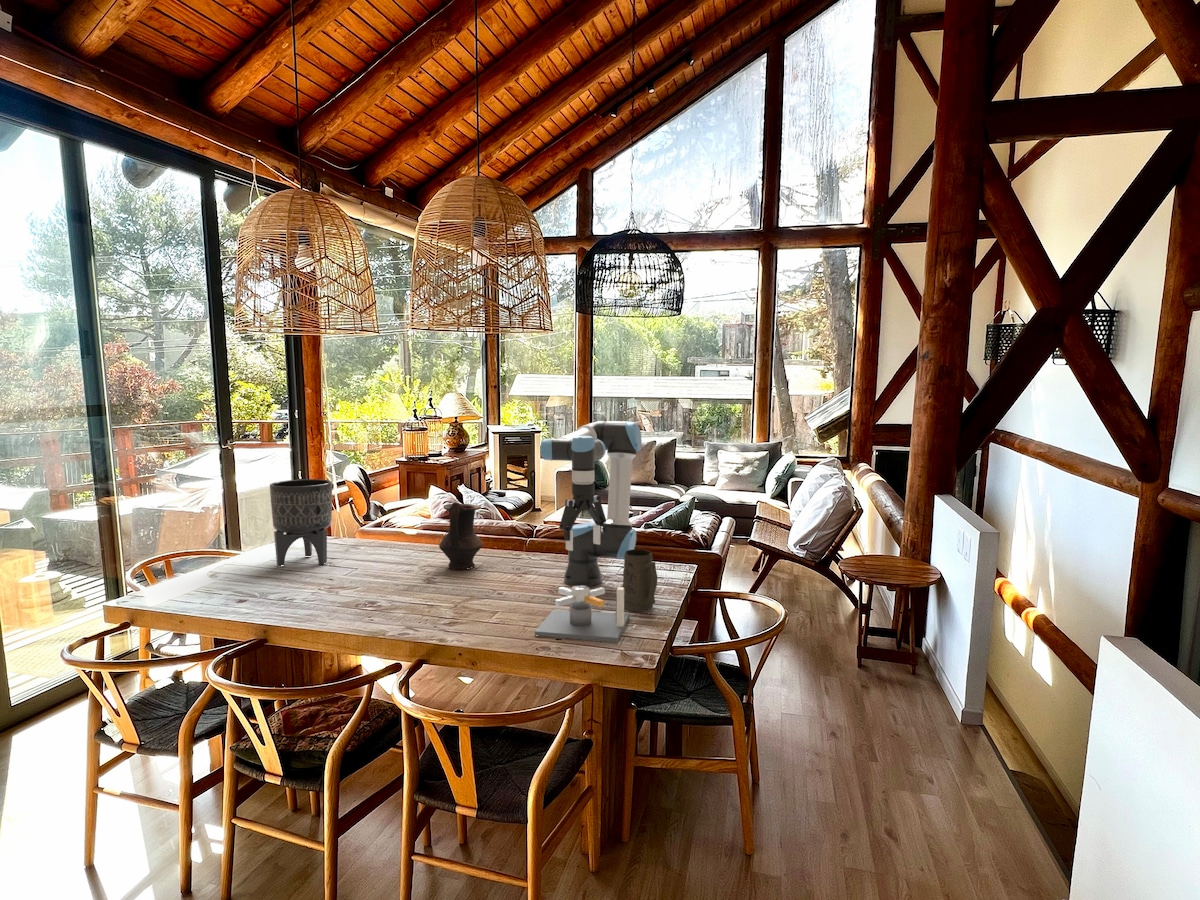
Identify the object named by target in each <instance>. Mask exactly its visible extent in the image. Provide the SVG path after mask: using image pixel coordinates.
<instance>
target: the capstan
mask: <svg viewBox="0 0 1200 900" xmlns="http://www.w3.org/2000/svg"><path fill="white" fill-rule="evenodd" d="M590 587H591V586H583V585H579V586H571V589H570V588H568V587H565V586H561V587H558V590H557V591H558V592H557V593H558V594H561V595H562V596H564V597H560V598H556V599H554V607H555V606H556V607H562V606H566V605H570V606H571V607H572V608H574V609H587V608H589V607H590V606H591V605H592V606H595V607H598V608H601V607H604V606H605V600H604V599H601V598H598V596H602V595H605V594H606V588H605V587H602V586H600V587H598V588H597V587H596V588H594V589H591V588H590Z"/></svg>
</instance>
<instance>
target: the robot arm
mask: <svg viewBox="0 0 1200 900" xmlns="http://www.w3.org/2000/svg"><path fill="white" fill-rule="evenodd" d="M641 450H642V434H641V429H640V426H639V425H638V423H637V422H634V421H628V420H623V421H622V420H613V421H612V420H599V421H593V422H590V423H587V424H584V425H581V426H579V427H578V428H576V429H575V431H572V432H571V433H568V434H566V435H563V436H560V437H558V438H551V437H550V438H543V440H542V441H541V442H540V446H539V452H540V456H541V458H542V459H543V460H545V461H561V462H562V461H566V462H567V461H568V462H569V461H570V462H571V482H572V484H571V494H572V496H573V497H572V499H565V502H564V504H565V506H564V509H563V513H562V517H561V520H560V523H559V527H558V528H559V529H560V530H563V532H564V533H563V534H564V535H563V536H564V541H565V550H567V551H568V554H567V555H568V559H567V560H568V564H567V566H566V570H565V573H564V575H563V582H564V584H566V585H568V584H569V586H572V585H573V586H579V585H583V586H588V587H594V586H597V585H599V584H602V582H603V576H602V571H601V569H600V565H599V563H598V558H605V559H606V558H607V559H617V560H624V555H625V552H626V551H628V550H633V549H636V548H635V547H636V544H637V531H636V529H634V528H633V524H632V522H630V503H631V489H632V467H633V459H635V458H636V457H637V452H640V451H641ZM606 453H607V456H608V457H609V458H610V461H609V462H610V464H609V465H610V467H609V479H608V480H609V481H608V497H607V499H608V501H607V514H605V512H604V509H603V505H602V503H601V501H602V500H601V496H600V495H596V494H595V490H596V489H595V485H596V484H595V483H594V482H595V476H596V475H595V462H599V461H600V460H601V459H602V458H604V456H605V454H606ZM594 494H595V495H594ZM584 511H587V512H588V514H589V515H590V517H591V518H592V520H593V522H584V523H583V522H582V523H577V524H575V523H576V520H577V519H578V517H579V515H580V514H581V513H582V512H584ZM606 515H607V517H606ZM573 586H572V587H573Z"/></svg>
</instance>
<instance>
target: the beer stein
mask: <svg viewBox="0 0 1200 900" xmlns="http://www.w3.org/2000/svg"><path fill="white" fill-rule="evenodd" d="M653 558H654V557H653V553H652V552H651V551H650V550H646V549H637V548H634V549H633V550H628V551H626V552H625V555H624V559H623V560H624V562H623V563H624V565H623V566H624V567H623V574H622V576H623V577H622V578H623V579H622V587H623V588H624V610H627V611H632V612H644V610H646V611H649V610H652V608H654V607H653V606H654V605H655V604H656V599H655V594H656V590H657V586H658V573H657V568H656V567H657V566H656V564H657V563H656V562H655V561H653V560H654V559H653ZM648 609H649V610H648Z"/></svg>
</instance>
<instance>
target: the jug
mask: <svg viewBox="0 0 1200 900" xmlns="http://www.w3.org/2000/svg"><path fill="white" fill-rule="evenodd" d="M480 509H482V506H480V505H477V504H476V505H475V504H470V503H459V502H457V501H453V502H452V503H447V504H445V505H444V506H443V510H446V511H448V512H449V530H448V532H447V534H445V536H444V537H443V538H442V540H441V541H440V543H439V544H438V547H439V549H440V550H441V551H442V552H443V554H444V556H446V557H447V559H448V560H449V562H448V563H449V564H448V568H449V569H451V570H455V569H467V568H471V567H474V566H475V567H476V564H475V563H474V561H473V560H474V557H476V555H477V554H478V552H479V551H480V550H481V549H482V548H483V545H484V544H483V542H482V540H481V539H480V537H479V535H477V534H476V532H475V530H474V524H475V516H476V515H475V513H476V511H477V510H478V511H479V510H480ZM475 567H474V568H475Z"/></svg>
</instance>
